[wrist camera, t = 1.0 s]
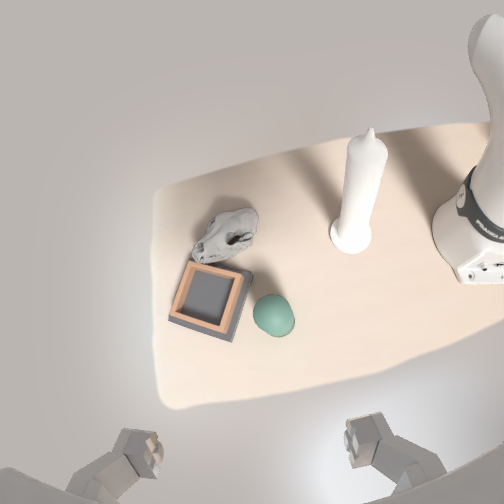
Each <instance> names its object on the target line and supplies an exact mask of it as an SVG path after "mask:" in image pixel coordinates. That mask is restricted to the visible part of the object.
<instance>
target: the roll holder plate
mask: <svg viewBox="0 0 504 504" xmlns="http://www.w3.org/2000/svg"><path fill="white" fill-rule="evenodd" d="M252 278H253V274H252V273H249V272H244V271H240V270H236V269H232V268H228V267H224V266H220V265H216V264H212V263H205V264H204V263H197V262H196V261H195V260H194V259H192V258H190V260H189V261H188V264H187V266H186V269H185V272H184V275H183V277H182V280H181V283H180V286H179V289H178V291H177V294H176V297H175V300H174V303H173V306H172V309H171V312H170V314H169V315H170V316H169V319H168V321H171V322H173V323H176V324H179V325H181V326H184V327H187V328H190V329H193V330H195V331H198V332H201V333H204V334H207V335H210V336H213V337H216V338H219V339H222V340H225V341H228V342H232V341H233V338H234V335H235V332H236V328H237V325H238V322H239V319H240V316H241V313H242V310H243V306H244V303H245V300H246V297H247V294H248V290H249V287H250V284H251V281H252Z"/></svg>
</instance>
